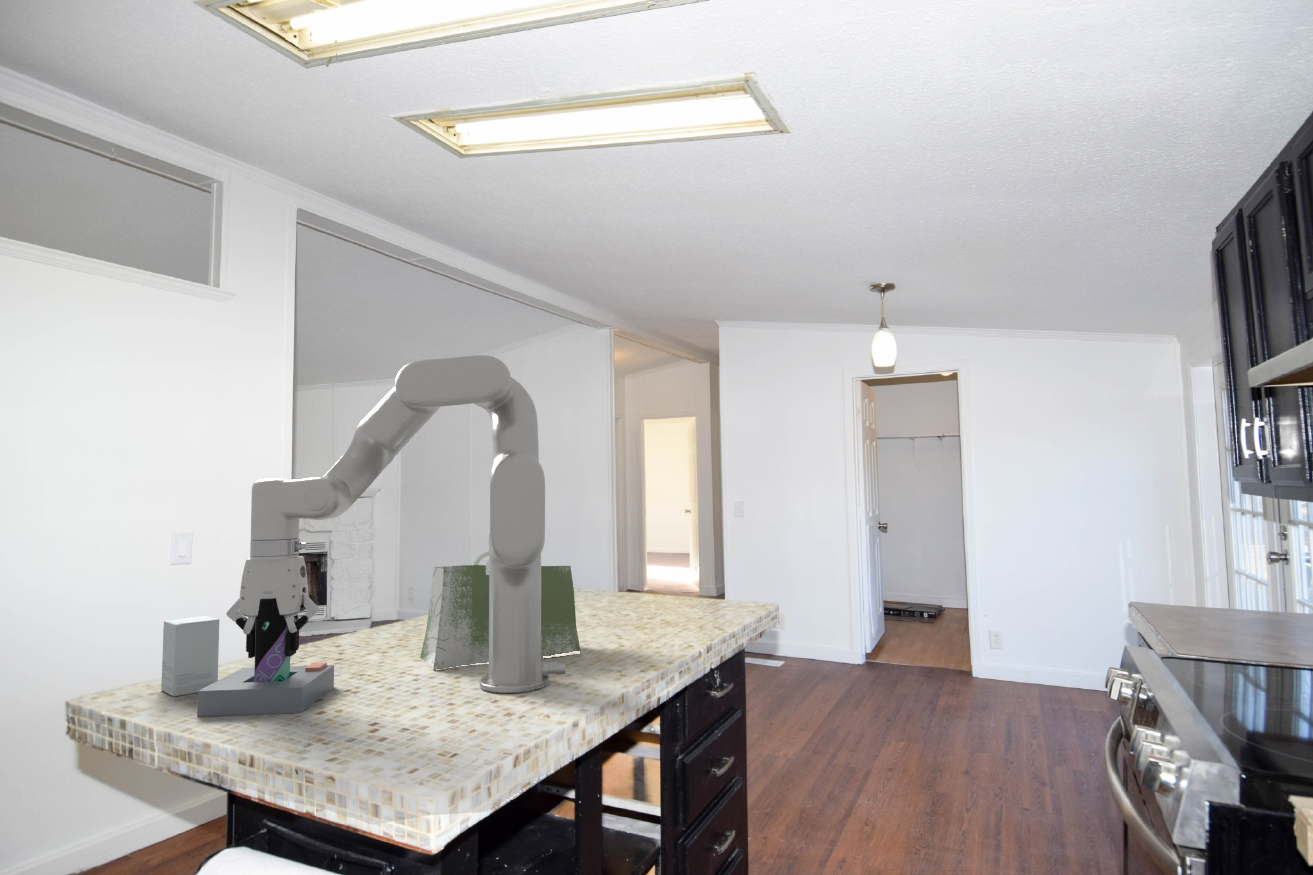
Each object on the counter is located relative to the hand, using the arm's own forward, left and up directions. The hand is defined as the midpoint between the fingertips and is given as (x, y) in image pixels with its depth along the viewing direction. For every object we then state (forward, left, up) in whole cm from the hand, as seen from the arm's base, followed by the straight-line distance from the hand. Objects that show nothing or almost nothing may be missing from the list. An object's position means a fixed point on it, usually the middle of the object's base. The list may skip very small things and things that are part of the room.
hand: (272, 654), depth 129 cm
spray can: (0, 0, -7) cm, 7 cm away
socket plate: (0, 0, -8) cm, 8 cm away
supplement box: (+18, -10, -8) cm, 22 cm away
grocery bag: (-36, -30, -8) cm, 47 cm away
